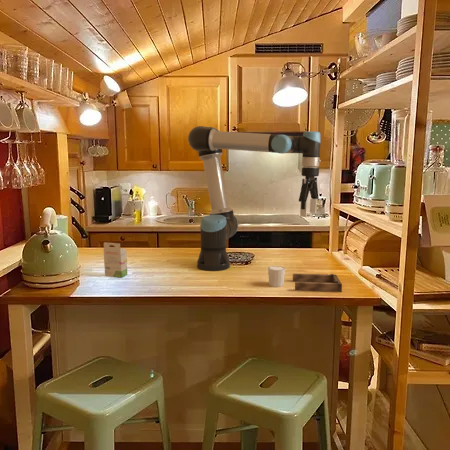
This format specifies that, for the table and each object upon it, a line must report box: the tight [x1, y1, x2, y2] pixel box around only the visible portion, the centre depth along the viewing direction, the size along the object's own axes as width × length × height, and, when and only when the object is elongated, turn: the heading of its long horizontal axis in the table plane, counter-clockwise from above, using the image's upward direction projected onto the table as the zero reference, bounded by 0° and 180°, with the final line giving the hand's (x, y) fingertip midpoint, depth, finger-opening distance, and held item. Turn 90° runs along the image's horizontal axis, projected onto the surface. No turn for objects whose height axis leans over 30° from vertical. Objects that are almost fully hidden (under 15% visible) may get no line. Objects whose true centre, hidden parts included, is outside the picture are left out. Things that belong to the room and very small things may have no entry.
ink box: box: [103, 242, 128, 278], centre depth 181 cm, size 9×5×15 cm, turn 71°
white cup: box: [267, 265, 286, 288], centre depth 169 cm, size 7×7×7 cm
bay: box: [292, 273, 343, 293], centre depth 168 cm, size 18×13×4 cm
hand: (308, 214), depth 191 cm, fingers open, 13 cm apart
